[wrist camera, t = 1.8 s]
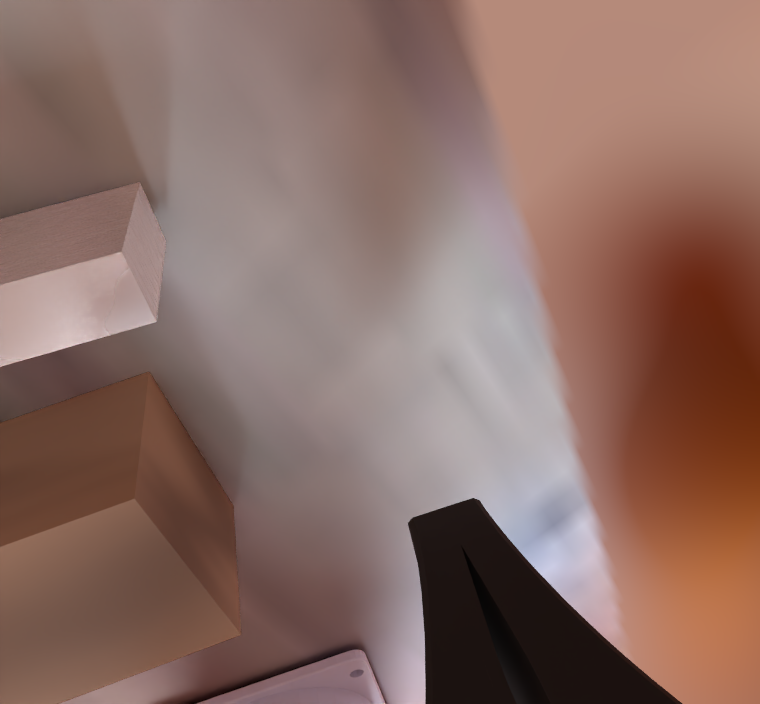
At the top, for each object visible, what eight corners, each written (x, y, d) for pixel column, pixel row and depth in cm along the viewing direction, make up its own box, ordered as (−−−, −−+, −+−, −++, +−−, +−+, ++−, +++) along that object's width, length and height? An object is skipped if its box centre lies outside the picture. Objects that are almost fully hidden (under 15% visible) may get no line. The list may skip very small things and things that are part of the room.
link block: (233, 501, 17) (241, 634, 13) (23, 577, 16) (-19, 733, 13) (149, 367, 14) (134, 498, 10) (-111, 457, 13) (-209, 621, 10)
